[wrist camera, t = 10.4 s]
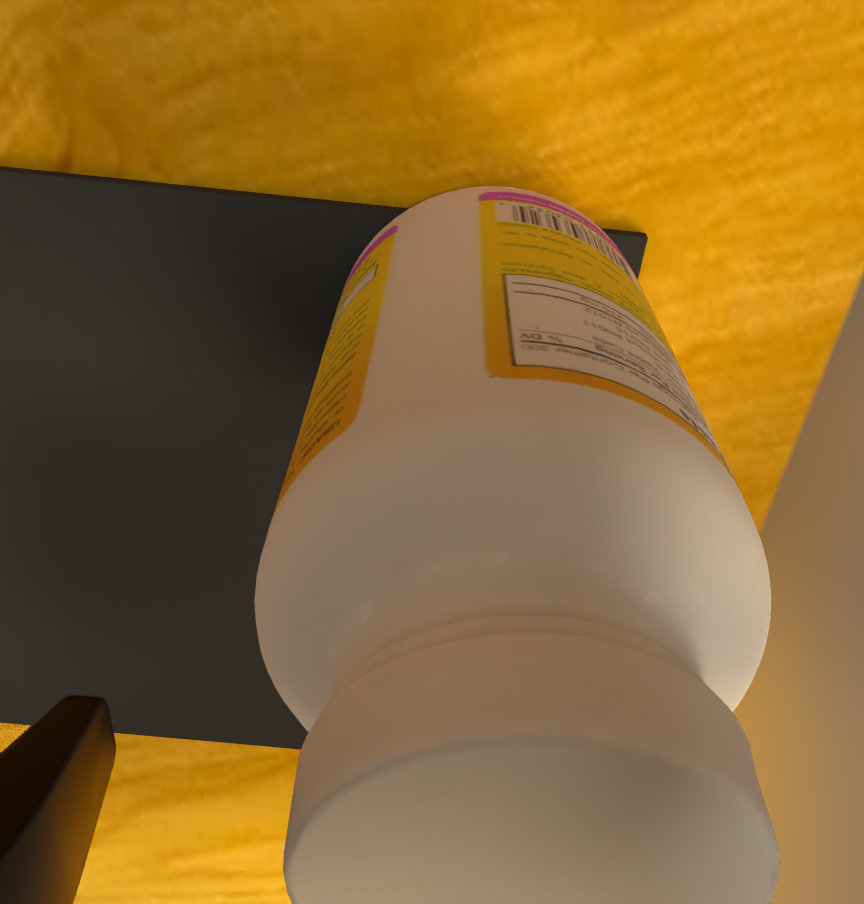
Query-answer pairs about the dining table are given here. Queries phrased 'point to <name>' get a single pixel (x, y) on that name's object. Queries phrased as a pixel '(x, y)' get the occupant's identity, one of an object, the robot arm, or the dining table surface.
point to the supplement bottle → (513, 585)
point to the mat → (157, 437)
